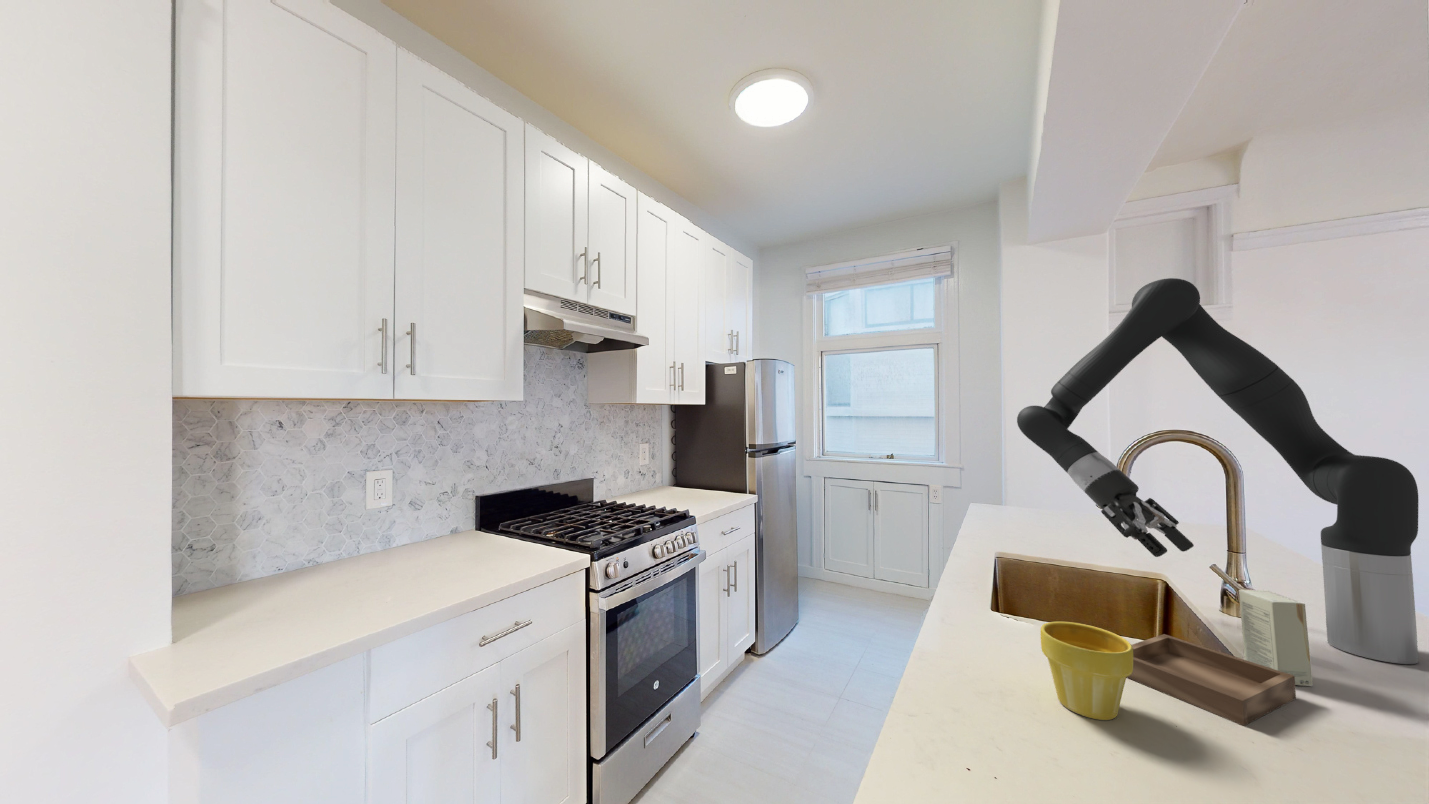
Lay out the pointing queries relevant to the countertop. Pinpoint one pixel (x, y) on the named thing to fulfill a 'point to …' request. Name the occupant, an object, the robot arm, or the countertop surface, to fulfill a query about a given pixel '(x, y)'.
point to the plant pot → (1087, 667)
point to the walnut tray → (1211, 679)
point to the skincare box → (1276, 633)
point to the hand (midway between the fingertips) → (1175, 551)
